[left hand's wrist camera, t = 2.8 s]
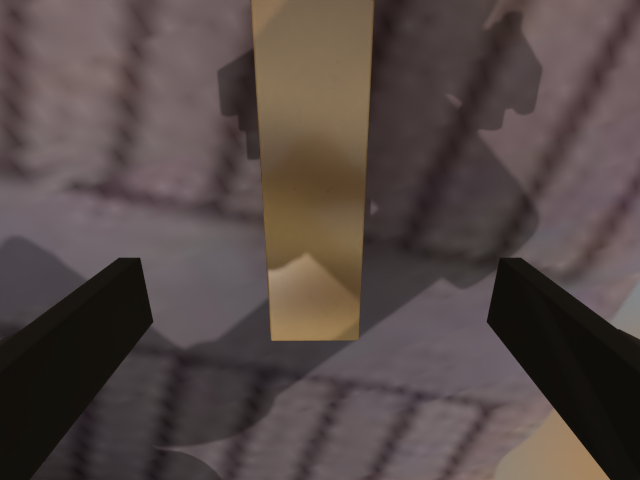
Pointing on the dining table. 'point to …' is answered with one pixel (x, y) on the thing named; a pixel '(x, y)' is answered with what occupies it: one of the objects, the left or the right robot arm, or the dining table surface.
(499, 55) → the dining table surface
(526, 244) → the dining table surface
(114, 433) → the dining table surface
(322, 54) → the beam
